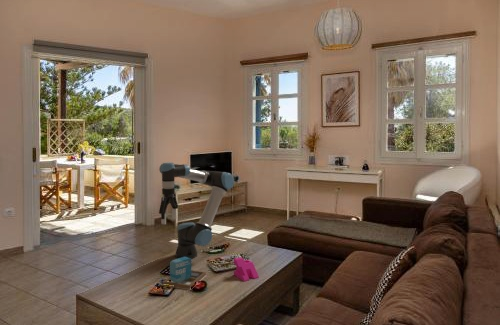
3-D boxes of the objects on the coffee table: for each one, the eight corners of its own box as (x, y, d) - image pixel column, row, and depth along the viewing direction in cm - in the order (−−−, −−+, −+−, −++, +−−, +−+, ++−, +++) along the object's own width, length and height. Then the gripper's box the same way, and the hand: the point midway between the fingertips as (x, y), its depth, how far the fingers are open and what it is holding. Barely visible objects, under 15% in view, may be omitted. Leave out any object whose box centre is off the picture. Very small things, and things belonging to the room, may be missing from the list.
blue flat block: (174, 283, 212) (174, 262, 210) (169, 281, 215) (169, 261, 214) (191, 277, 220) (191, 257, 219) (186, 275, 223) (186, 255, 222)
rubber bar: (181, 274, 231) (181, 271, 230) (199, 276, 227) (199, 273, 227) (178, 276, 227) (178, 273, 227) (196, 279, 223) (196, 276, 223)
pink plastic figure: (233, 275, 233) (233, 258, 232) (247, 271, 238) (248, 255, 237) (244, 281, 223) (244, 264, 222) (258, 277, 228) (258, 261, 228)
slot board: (180, 272, 235) (180, 268, 235) (206, 276, 230) (206, 271, 230) (161, 286, 214) (161, 281, 214) (190, 290, 209) (190, 286, 209)
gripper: (172, 184, 248) (173, 216, 250) (152, 190, 224) (153, 226, 226) (182, 184, 246) (183, 217, 248) (163, 191, 222) (164, 226, 224)
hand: (169, 221), depth 237 cm, fingers open, 13 cm apart
